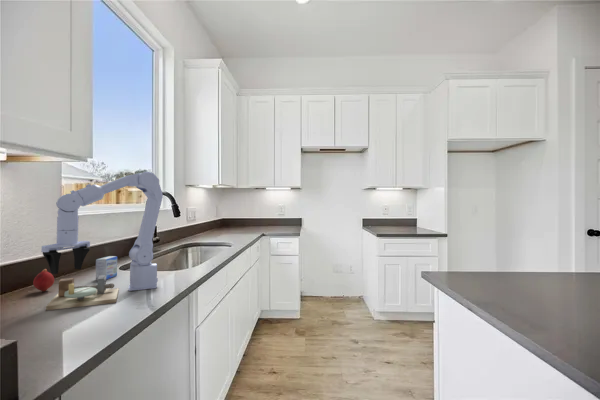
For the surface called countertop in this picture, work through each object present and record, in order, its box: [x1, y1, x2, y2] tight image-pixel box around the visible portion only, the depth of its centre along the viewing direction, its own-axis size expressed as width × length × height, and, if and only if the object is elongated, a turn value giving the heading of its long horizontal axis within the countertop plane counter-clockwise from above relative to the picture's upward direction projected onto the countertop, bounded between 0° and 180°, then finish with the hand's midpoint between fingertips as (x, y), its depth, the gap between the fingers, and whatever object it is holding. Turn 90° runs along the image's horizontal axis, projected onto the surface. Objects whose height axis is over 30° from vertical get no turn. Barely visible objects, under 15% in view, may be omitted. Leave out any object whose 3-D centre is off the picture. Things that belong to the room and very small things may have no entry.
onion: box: [32, 268, 55, 292], centre depth 112 cm, size 6×6×8 cm
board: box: [45, 287, 120, 311], centre depth 103 cm, size 18×14×1 cm
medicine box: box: [95, 255, 118, 281], centre depth 134 cm, size 8×4×9 cm, turn 179°
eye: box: [96, 275, 107, 295], centre depth 108 cm, size 2×6×5 cm, turn 27°
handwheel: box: [64, 283, 97, 300], centre depth 100 cm, size 8×8×6 cm
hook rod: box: [57, 277, 115, 297], centre depth 106 cm, size 16×4×5 cm, turn 117°
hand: (66, 271), depth 104 cm, fingers open, 7 cm apart
